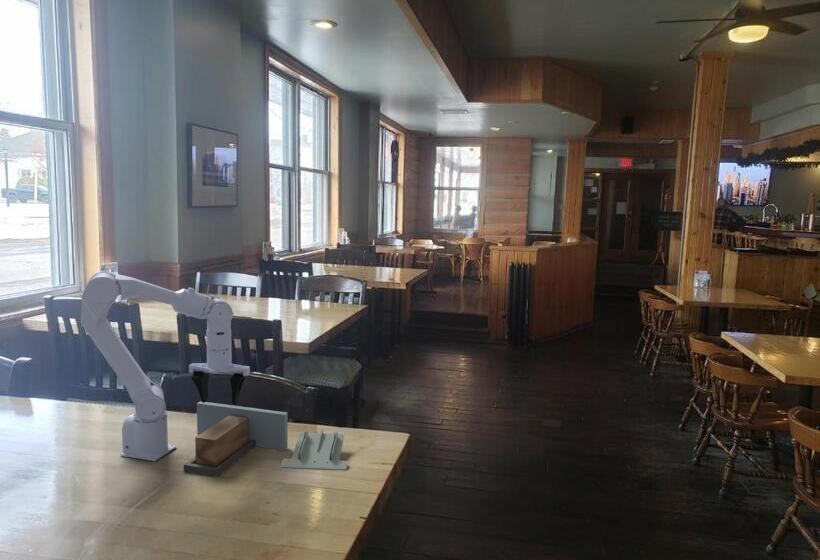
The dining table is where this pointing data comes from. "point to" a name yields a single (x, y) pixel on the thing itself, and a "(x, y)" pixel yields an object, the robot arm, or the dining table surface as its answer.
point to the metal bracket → (317, 452)
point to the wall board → (262, 432)
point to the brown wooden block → (221, 441)
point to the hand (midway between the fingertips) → (219, 402)
